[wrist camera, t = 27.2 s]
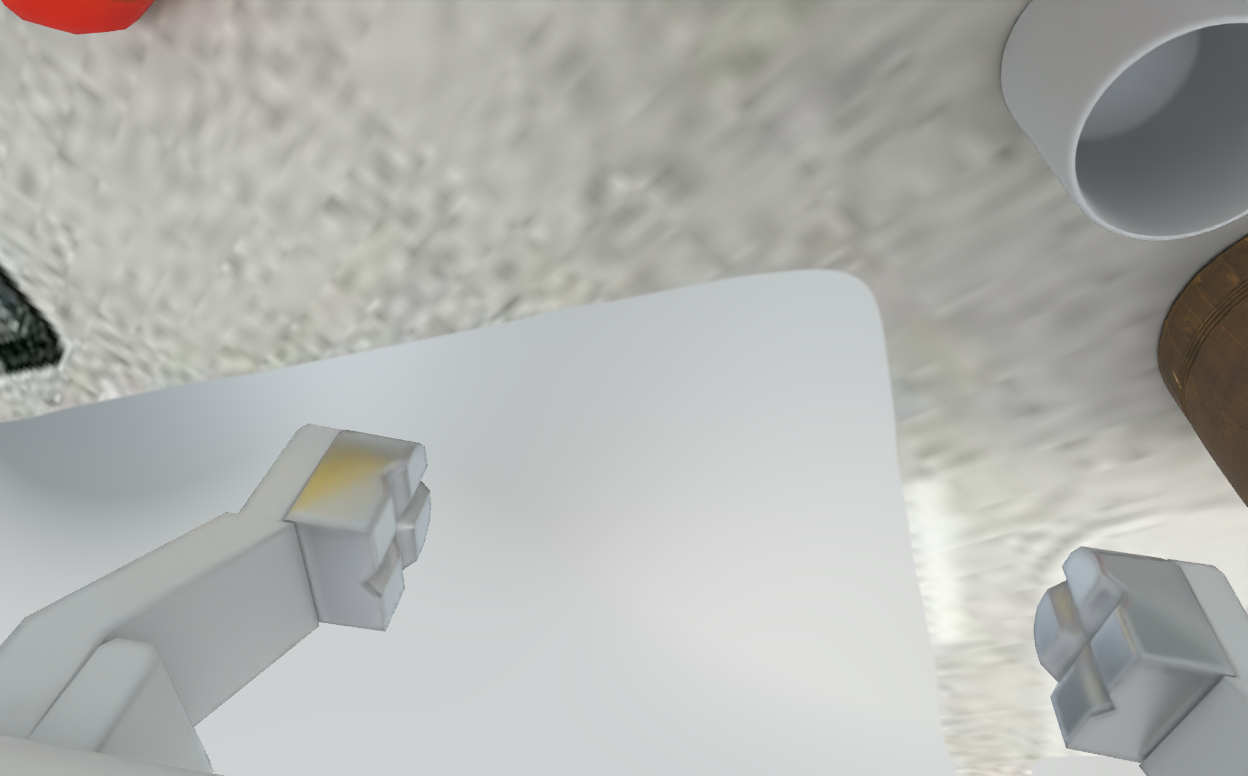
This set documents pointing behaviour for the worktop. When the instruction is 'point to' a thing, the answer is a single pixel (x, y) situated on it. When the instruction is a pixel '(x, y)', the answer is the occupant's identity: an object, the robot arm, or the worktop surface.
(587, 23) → the worktop surface
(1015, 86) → the mug
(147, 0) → the tomato
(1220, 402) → the wooden container
